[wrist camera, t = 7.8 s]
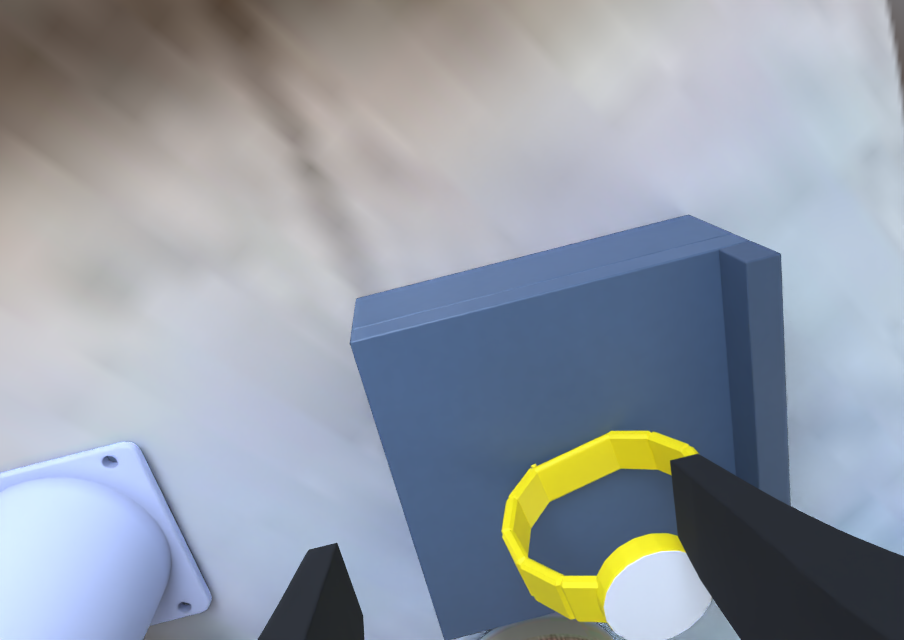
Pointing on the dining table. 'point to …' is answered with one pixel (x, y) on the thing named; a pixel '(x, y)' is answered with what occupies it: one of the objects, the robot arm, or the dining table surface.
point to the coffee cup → (549, 630)
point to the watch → (631, 565)
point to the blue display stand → (570, 397)
